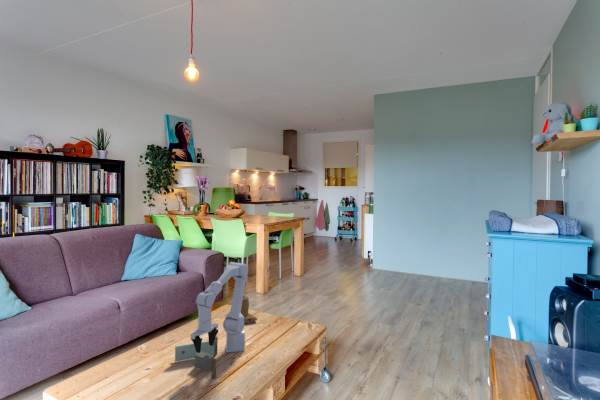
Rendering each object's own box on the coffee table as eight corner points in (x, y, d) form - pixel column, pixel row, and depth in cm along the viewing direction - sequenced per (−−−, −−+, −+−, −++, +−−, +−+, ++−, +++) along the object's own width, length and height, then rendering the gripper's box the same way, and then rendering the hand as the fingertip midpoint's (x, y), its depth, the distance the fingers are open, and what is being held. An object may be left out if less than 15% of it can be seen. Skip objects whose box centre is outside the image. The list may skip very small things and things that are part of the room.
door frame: (217, 351, 164) (217, 336, 163) (215, 378, 140) (215, 360, 140) (213, 352, 163) (213, 336, 163) (211, 379, 140) (211, 361, 140)
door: (216, 352, 162) (216, 338, 162) (216, 354, 160) (216, 340, 159) (175, 359, 154) (175, 345, 154) (175, 362, 152) (175, 347, 152)
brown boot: (229, 318, 207) (230, 295, 206) (246, 314, 214) (246, 291, 213) (240, 326, 194) (240, 301, 194) (257, 322, 201) (258, 298, 201)
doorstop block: (213, 368, 148) (213, 355, 148) (206, 372, 145) (206, 359, 145) (201, 363, 153) (201, 351, 152) (194, 367, 149) (194, 354, 149)
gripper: (210, 312, 156) (210, 340, 157) (185, 322, 144) (185, 352, 144) (221, 315, 152) (221, 344, 153) (196, 326, 140) (196, 357, 141)
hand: (204, 348), depth 148 cm, fingers open, 7 cm apart
